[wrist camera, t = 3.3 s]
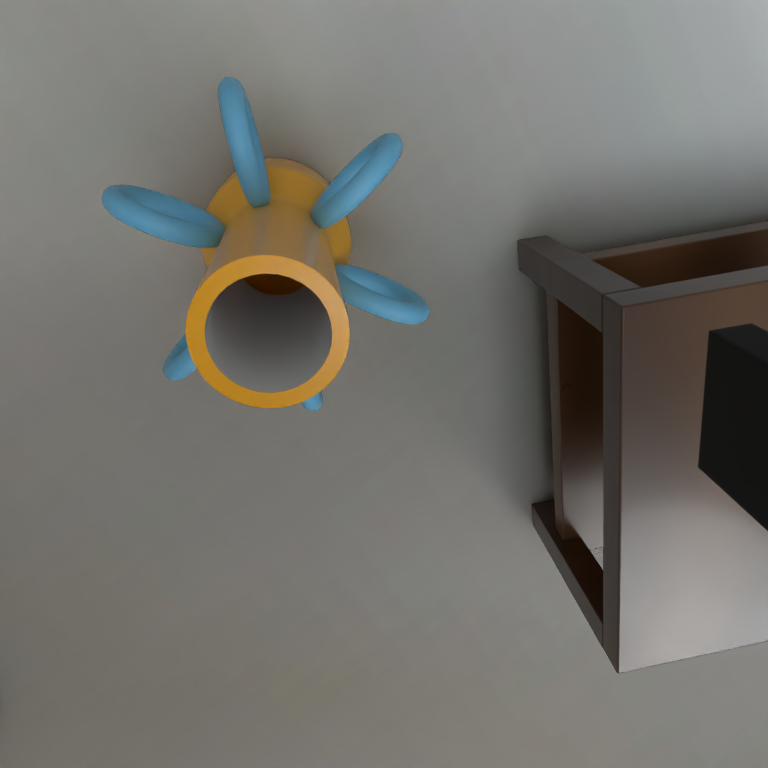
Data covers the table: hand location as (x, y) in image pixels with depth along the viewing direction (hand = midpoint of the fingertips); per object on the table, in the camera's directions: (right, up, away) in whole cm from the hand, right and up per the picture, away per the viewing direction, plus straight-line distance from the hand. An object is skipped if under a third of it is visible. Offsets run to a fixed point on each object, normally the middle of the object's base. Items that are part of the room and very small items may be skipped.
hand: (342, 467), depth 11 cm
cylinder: (-4, +9, +19) cm, 21 cm away
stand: (+16, +2, +24) cm, 29 cm away
